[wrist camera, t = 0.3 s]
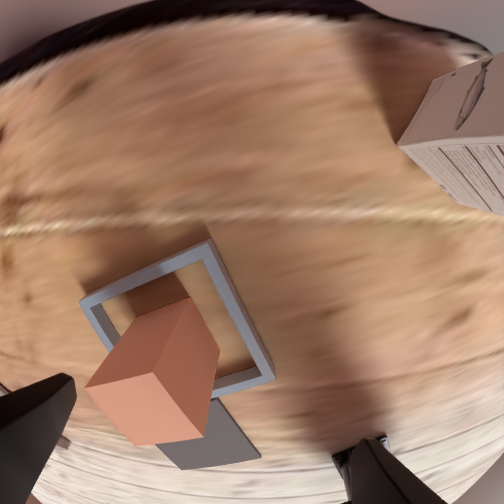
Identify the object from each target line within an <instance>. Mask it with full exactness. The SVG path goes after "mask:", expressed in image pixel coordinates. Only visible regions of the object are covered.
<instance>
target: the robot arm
mask: <svg viewBox="0 0 504 504" xmlns="http://www.w3.org/2000/svg"><path fill="white" fill-rule="evenodd" d="M76 399H77V394H76V388H75V382H74V379H73V377H72V376H69V375H67V374H65V373H59V374H56V375H54V376H51V377H49V378H46V379H44V380H41V381H39V382H36V383H34V384H31V385H29V386H26V387H24V388H21V389H18V390H16V391H13V392H11V393H8V394H5V395H3V396H0V504H25V503H26V501H27V499H28V497H29V495H30V493H31V491H32V489H33V487H34V485H35V483H36V481H37V479H38V477H39V476H40V474H41V472H42V470H43V468H44V466H45V464H46V463H47V461H48V459H49V457H50V455H51V453H52V452H53V450H54V448H55V446H56V445H57V443H58V441H59V439H60V437H61V435H62V433H63V430H64V428H65V425H66V423H67V421H68V418H69V416H70V414H71V411H72V409H73V407H74V405H75V402H76ZM332 460H333V462H334V464H335V466H336V468H337V470H338V472H339V473H340V475H341V477H342V479H343V480H344V484H345V488H346V492H347V497H348V501H347V502H344V503H341V504H448V503H446V502H445V501H444V500H443V499H442V500H441V498H440V497H439V496H438V495H437V494H436V493H435V492H434V491H432V490H431V489H430V488H429V487H428V486H427V485H425V484H424V483H423V482H422V481H421V480H420V479H419V478H418V477H416V476H415V475H414V474H413V473H412V472H411V471H410V470H409V469H408V468H406V467H405V466H404V465H403V464H402V463H401V462H400V461H399V460H398V459H397V458H395V457H394V456H393V455H392V454H391V453H390V447H389V442H388V438H387V436H382V437H379V438H377V439H374V438H364V439H362V440H361V441H360V442H359V444H358V445H357V446H356V447H354V448H352V449H349V450H346V451H343V452H340V453H338V454H335V455H333V456H332Z"/></svg>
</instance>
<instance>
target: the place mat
mask: <svg viewBox="0 0 504 504" xmlns="http://www.w3.org/2000/svg"><path fill="white" fill-rule="evenodd" d="M155 445H156V446H157V447H158V448H159V449H160V450H161V451H162V452H163V453H164V454H165V455H166V456H167V457H168V458H169V459H170V460H171V461H172V462H173V463H174V464H176V465H177V466H178V467H179V468H180V469H181V470H187V469H197V468H205V467H213V466H220V465H226V464H232V463H238V462H243V461H248V460H253V459H258V458H261V454H260V453H259V452H258V450H257V449H256V448H255V447H254V445H253V444H252V443H251V442H250V440H249V439H248V438H247V436H246V435H245V434H244V432H243V431H242V430H241V428H240V427H239V426H238V424H237V423H236V422H235V420H234V419H233V418H232V416H231V415H230V414H229V412H228V411H227V409H226V408H225V407H224V405H223V404H222V402H221V401H220V400H219V398H218V397H215V398H212V399H211V401H210V406H209V412H208V417H207V422H206V428H205V433H204V437H202V438H196V439H190V440H183V441H176V442H169V443H160V444H155Z"/></svg>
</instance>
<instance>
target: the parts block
mask: <svg viewBox="0 0 504 504" xmlns="http://www.w3.org/2000/svg"><path fill="white" fill-rule="evenodd" d="M219 354H220V349H219V347H218V346H217V344H216V342H215V340H214V339H213V337H212V335H211V333H210V332H209V330H208V328H207V326H206V324H205V323H204V321H203V319H202V317H201V315H200V314H199V312H198V310H197V308H196V306H195V304H194V303H193V301H192V299H191V297H188V298H185V299H182V300H180V301H177V302H175V303H172V304H170V305H167V306H164V307H162V308H159V309H157V310H154V311H151V312H149V313H146V314H144V315H141V316H138V317H136V318H135V320H134V321H133V322H132V324H131V325H130V326H129V328H128V329H127V330H126V332H125V333H124V334H123V336H122V337H121V338H120V340H119V341H118V342H117V344H116V345H115V346H114V348H113V349H112V350H111V352H110V353H109V354H108V356H107V357H106V358H105V360H104V361H103V363H102V364H101V365H100V367H99V368H98V369H97V371H96V372H95V374H94V375H93V376H92V378H91V379H90V381H89V382H88V384H87V385H86V386H85V388H84V389H85V390H86V391H87V393H88V394H89V395H90V396H91V398H92V399H93V400H94V401H95V402H96V404H97V405H98V406H99V407H100V409H101V410H102V411H103V412H104V413H105V414H106V416H107V417H108V418H109V419H110V420H111V421H112V422H113V423H114V425H115V426H116V427H117V428H118V429H119V430H120V431H121V432H122V433H123V434H124V435H125V436H126V437H127V439H128V440H129V441H130V442H131V443H132V444H133V445H134V446H140V445H151V444H160V443H169V442H176V441H183V440H190V439H196V438H202V437H204V433H205V428H206V422H207V417H208V412H209V406H210V401H211V396H212V390H213V385H214V380H215V375H216V369H217V364H218V359H219Z"/></svg>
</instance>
